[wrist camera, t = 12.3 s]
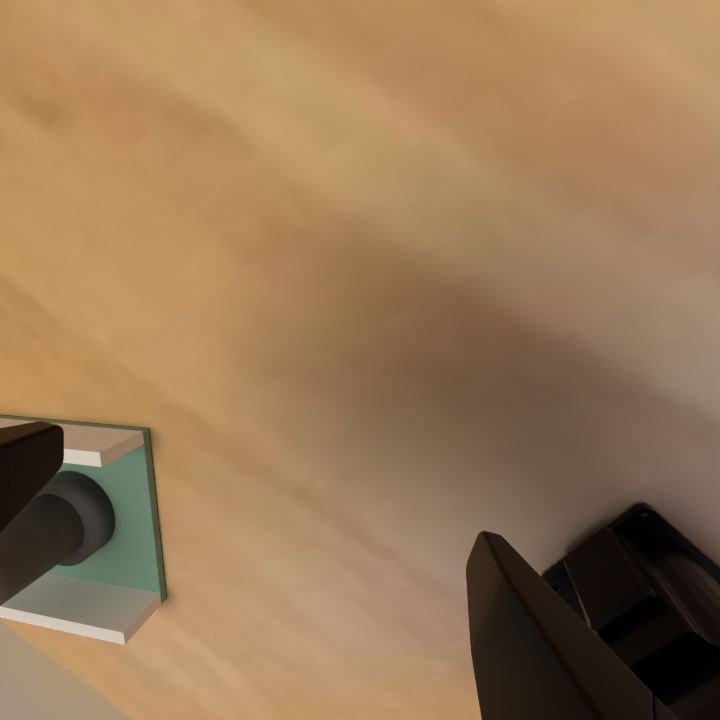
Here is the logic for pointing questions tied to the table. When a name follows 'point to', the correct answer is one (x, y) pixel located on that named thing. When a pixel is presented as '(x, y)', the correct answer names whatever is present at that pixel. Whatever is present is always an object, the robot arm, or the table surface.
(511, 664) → the robot arm
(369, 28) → the table surface
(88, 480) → the player figure
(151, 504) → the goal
